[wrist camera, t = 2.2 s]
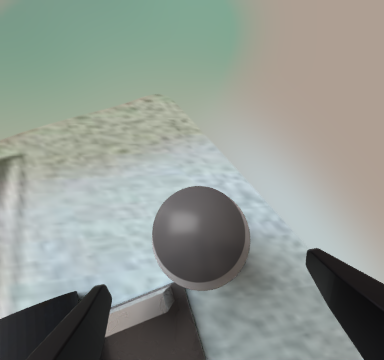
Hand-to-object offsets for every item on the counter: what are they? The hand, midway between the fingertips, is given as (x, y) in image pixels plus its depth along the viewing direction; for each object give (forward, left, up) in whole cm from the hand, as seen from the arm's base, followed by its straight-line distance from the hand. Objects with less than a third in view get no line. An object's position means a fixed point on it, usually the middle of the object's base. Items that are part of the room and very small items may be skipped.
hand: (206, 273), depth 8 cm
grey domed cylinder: (+2, 0, -9) cm, 9 cm away
